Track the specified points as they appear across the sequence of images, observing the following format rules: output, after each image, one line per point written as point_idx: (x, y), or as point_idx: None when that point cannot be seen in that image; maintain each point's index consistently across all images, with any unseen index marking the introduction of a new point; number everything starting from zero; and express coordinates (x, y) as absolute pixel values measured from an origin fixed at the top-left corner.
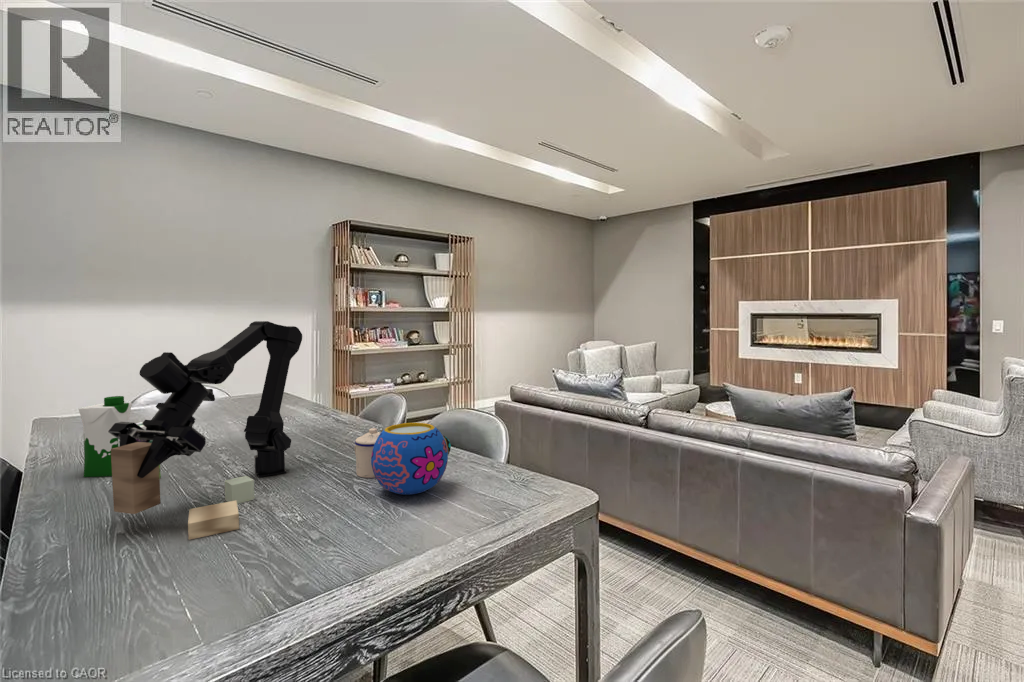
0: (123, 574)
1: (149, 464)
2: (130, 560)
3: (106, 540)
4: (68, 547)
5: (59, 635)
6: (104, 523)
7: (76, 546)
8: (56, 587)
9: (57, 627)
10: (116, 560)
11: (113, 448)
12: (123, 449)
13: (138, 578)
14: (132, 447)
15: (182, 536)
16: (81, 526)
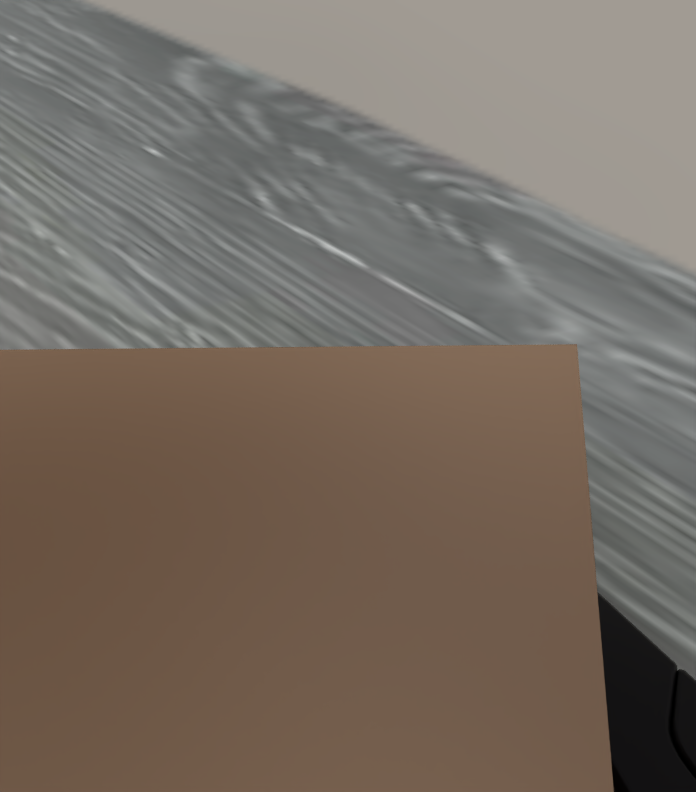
0: (85, 249)
1: None
2: (141, 317)
3: None
4: (481, 331)
5: (5, 44)
6: (611, 559)
7: (458, 345)
8: (214, 150)
9: (35, 57)
10: (189, 305)
11: (531, 390)
12: (120, 376)
13: (22, 245)
14: (41, 608)
15: None
16: (690, 504)
